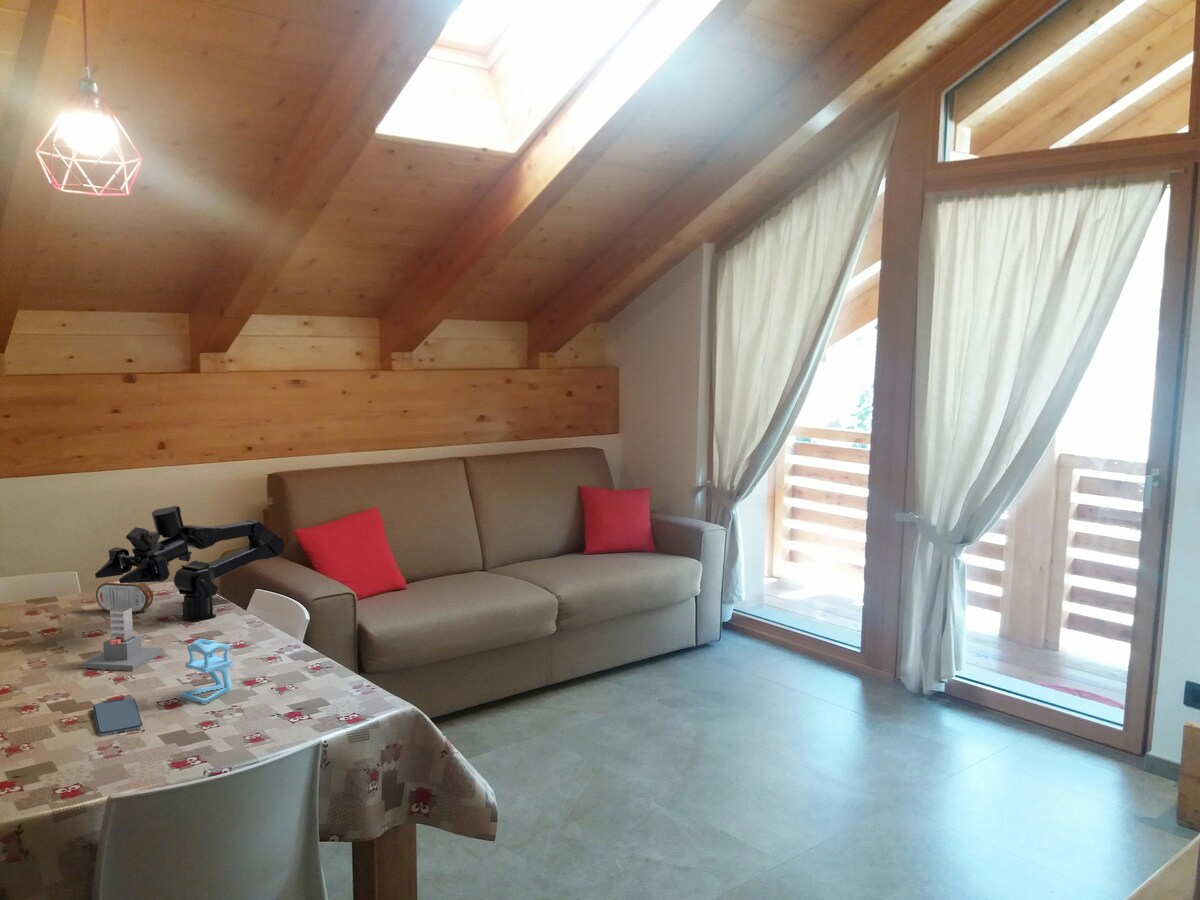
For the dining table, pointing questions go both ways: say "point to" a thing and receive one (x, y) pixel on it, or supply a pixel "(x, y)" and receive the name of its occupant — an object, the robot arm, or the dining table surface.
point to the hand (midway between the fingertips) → (107, 578)
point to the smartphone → (117, 716)
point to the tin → (124, 595)
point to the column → (121, 624)
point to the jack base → (122, 655)
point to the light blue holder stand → (209, 668)
